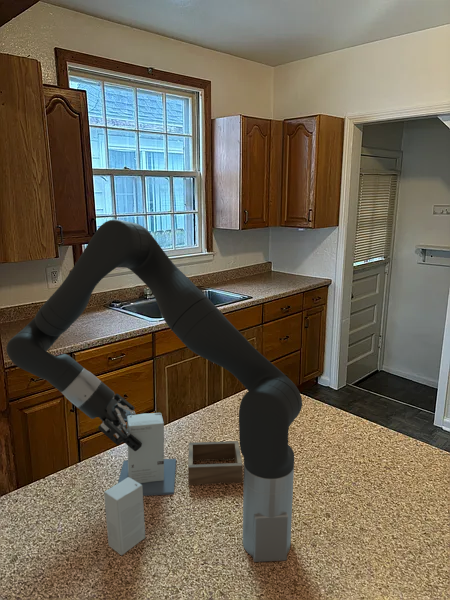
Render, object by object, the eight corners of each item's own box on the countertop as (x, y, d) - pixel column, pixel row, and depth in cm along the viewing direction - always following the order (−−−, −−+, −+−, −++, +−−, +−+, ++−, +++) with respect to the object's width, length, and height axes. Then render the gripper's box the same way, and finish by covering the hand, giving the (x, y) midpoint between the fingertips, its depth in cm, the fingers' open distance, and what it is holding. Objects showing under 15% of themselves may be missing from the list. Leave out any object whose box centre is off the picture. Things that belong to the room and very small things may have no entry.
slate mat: (173, 494, 101) (173, 492, 101) (115, 496, 100) (114, 494, 100) (176, 460, 113) (176, 458, 113) (123, 462, 112) (123, 460, 112)
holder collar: (242, 482, 105) (242, 465, 104) (188, 484, 104) (188, 467, 103) (238, 456, 115) (238, 440, 114) (189, 458, 114) (188, 442, 113)
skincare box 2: (129, 486, 102) (126, 427, 99) (128, 470, 108) (124, 414, 105) (166, 480, 104) (164, 422, 101) (162, 465, 110) (161, 410, 107)
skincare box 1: (131, 528, 91) (129, 475, 88) (146, 538, 88) (143, 484, 85) (106, 545, 86) (103, 491, 83) (120, 557, 83) (117, 501, 81)
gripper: (92, 396, 93) (149, 444, 97) (105, 369, 107) (155, 412, 111) (68, 419, 94) (125, 466, 98) (84, 390, 108) (134, 432, 112)
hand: (141, 437), depth 104 cm, fingers open, 8 cm apart
